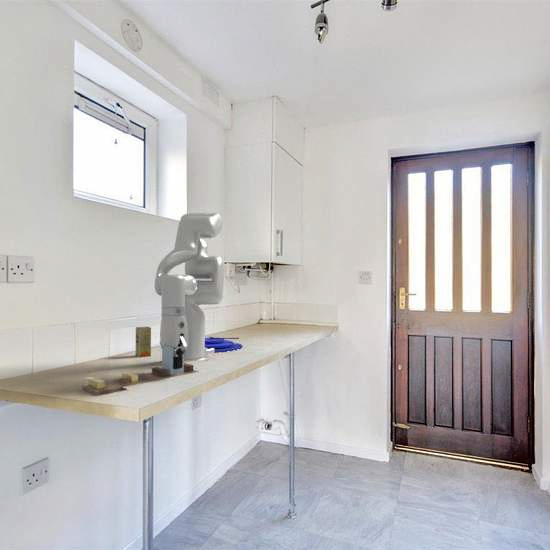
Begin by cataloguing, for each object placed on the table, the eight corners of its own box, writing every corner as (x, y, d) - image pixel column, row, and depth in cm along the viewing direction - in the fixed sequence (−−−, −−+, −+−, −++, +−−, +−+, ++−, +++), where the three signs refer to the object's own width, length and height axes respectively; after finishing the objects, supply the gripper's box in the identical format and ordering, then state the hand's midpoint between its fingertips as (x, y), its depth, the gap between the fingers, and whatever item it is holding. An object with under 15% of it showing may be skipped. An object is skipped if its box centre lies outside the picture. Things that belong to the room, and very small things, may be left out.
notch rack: (182, 370, 139) (182, 361, 139) (199, 374, 132) (199, 365, 132) (82, 389, 114) (82, 378, 114) (97, 395, 107) (97, 384, 107)
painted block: (175, 370, 134) (175, 343, 134) (183, 372, 131) (183, 345, 131) (162, 372, 130) (162, 345, 131) (170, 375, 127) (170, 347, 127)
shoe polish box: (138, 357, 164) (138, 328, 164) (135, 355, 168) (135, 327, 168) (150, 356, 166) (150, 327, 167) (147, 354, 171) (147, 326, 171)
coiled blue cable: (166, 337, 189) (218, 331, 210) (166, 348, 189) (218, 342, 210) (202, 343, 168) (255, 337, 189) (202, 356, 168) (255, 348, 188)
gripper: (198, 312, 128) (197, 369, 128) (168, 310, 140) (168, 362, 139) (178, 314, 122) (177, 373, 122) (149, 311, 134) (149, 365, 134)
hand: (172, 366), depth 131 cm, fingers closed on painted block, 5 cm apart
